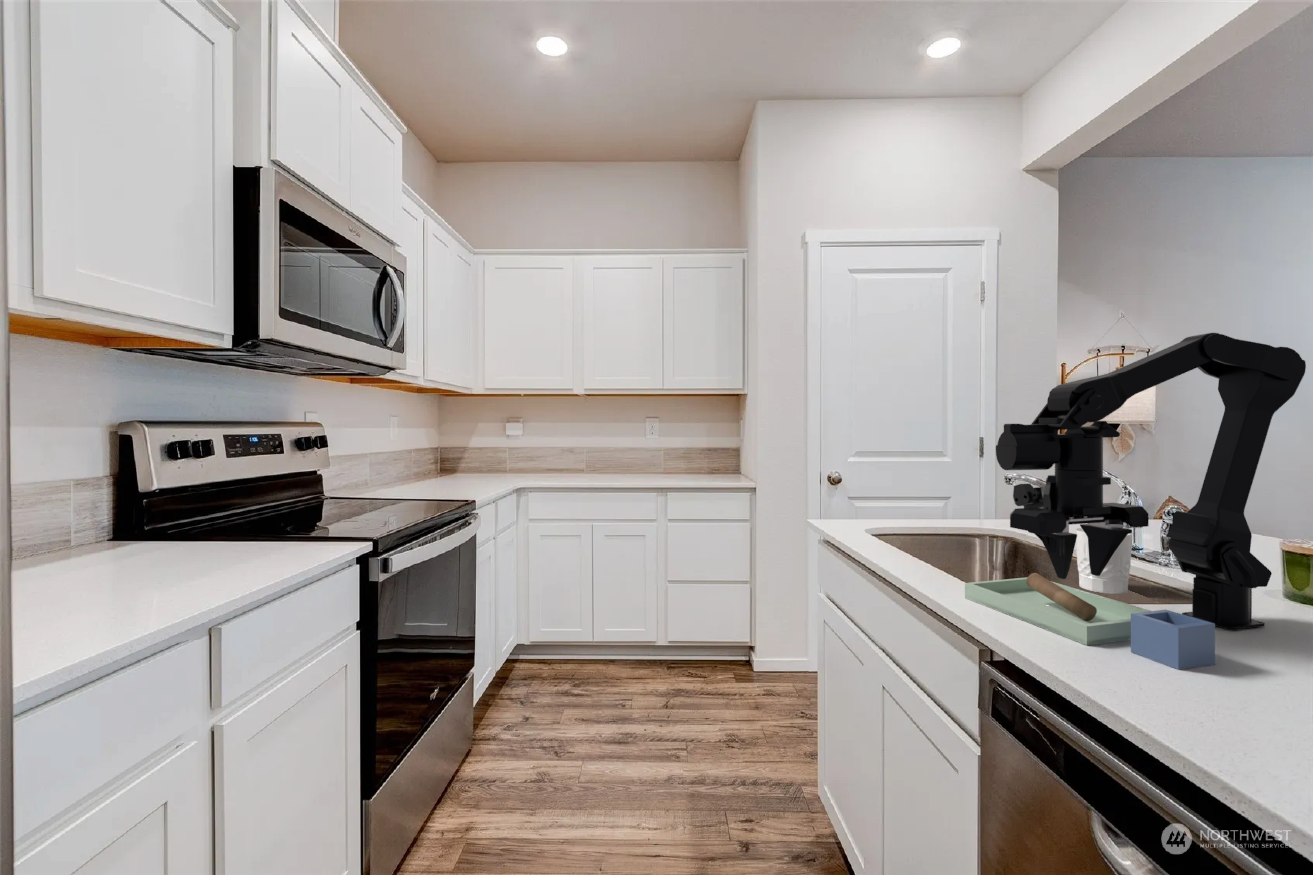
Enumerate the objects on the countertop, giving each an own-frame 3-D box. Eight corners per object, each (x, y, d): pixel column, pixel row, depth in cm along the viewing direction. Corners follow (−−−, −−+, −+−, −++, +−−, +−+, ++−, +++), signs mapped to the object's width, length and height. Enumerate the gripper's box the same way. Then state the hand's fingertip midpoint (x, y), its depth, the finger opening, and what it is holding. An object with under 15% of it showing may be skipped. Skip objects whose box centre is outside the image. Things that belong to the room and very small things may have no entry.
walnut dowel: (1082, 635, 88) (1034, 582, 96) (1102, 609, 85) (1051, 557, 93) (1069, 636, 87) (1021, 583, 96) (1089, 611, 84) (1038, 558, 92)
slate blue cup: (1165, 647, 77) (1165, 609, 77) (1214, 664, 72) (1215, 623, 72) (1130, 651, 76) (1130, 613, 76) (1178, 669, 70) (1178, 628, 70)
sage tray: (1035, 591, 103) (1035, 576, 103) (1171, 634, 81) (1171, 616, 81) (964, 598, 100) (964, 583, 100) (1086, 645, 78) (1086, 626, 78)
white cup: (1142, 596, 99) (1142, 535, 99) (1089, 594, 100) (1088, 535, 100) (1116, 583, 107) (1116, 527, 106) (1066, 581, 108) (1066, 526, 108)
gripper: (1080, 463, 96) (1080, 560, 97) (981, 467, 92) (981, 568, 93) (1151, 468, 86) (1151, 577, 86) (1042, 473, 82) (1043, 587, 82)
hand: (1078, 576), depth 87 cm, fingers open, 6 cm apart
